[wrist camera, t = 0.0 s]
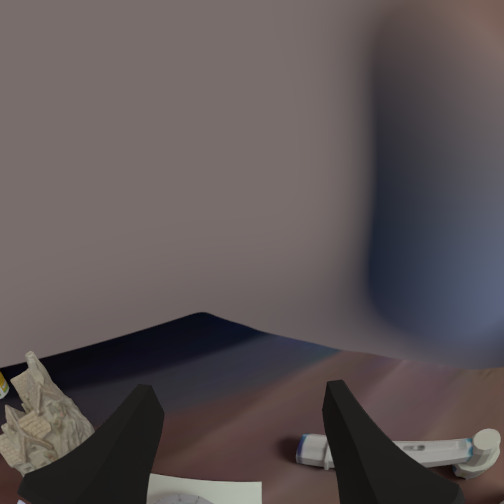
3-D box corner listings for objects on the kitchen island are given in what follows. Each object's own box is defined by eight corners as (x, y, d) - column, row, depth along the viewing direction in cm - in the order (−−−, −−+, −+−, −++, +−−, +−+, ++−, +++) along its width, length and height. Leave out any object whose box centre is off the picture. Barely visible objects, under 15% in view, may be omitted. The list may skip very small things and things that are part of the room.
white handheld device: (307, 421, 27) (508, 412, 16) (310, 450, 29) (489, 444, 17) (292, 455, 23) (515, 445, 11) (297, 481, 24) (492, 476, 12)
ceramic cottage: (72, 391, 35) (32, 318, 29) (114, 457, 25) (56, 380, 19) (8, 425, 24) (-41, 355, 18) (34, 499, 14) (-44, 431, 8)
